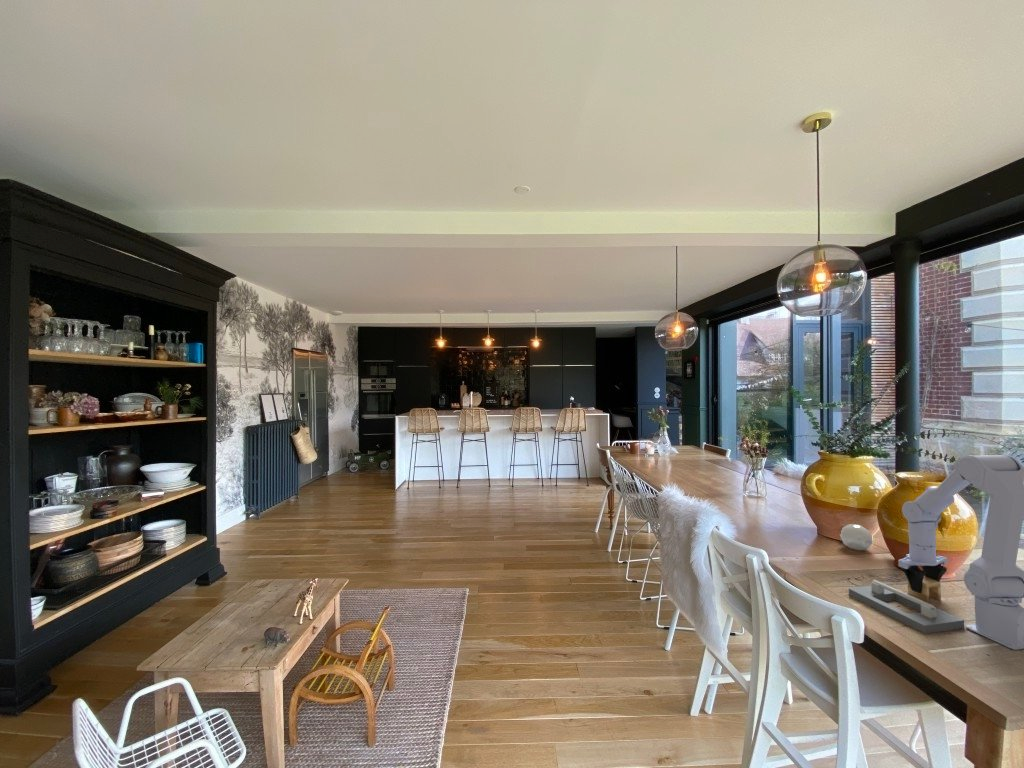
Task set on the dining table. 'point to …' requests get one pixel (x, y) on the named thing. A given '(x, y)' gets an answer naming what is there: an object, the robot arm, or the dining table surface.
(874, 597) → the grey slotted base plate
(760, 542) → the dining table surface
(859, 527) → the white egg shape
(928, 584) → the ochre u-shaped block
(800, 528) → the dining table surface
